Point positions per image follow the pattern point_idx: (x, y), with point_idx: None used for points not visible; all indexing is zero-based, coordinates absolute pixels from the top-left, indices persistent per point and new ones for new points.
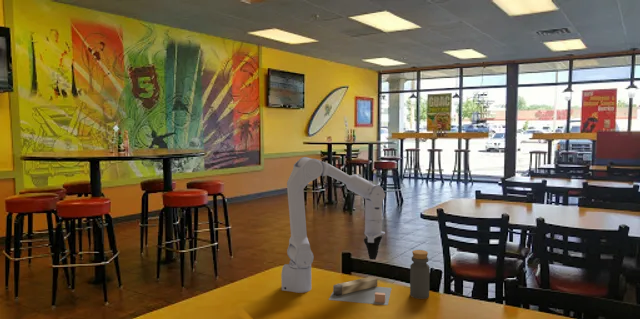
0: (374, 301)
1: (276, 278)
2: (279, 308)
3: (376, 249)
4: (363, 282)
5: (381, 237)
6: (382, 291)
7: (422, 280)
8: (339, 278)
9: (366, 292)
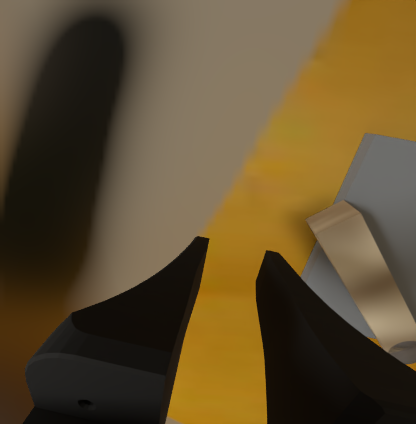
0: None
1: (216, 410)
2: None
3: (333, 318)
4: (389, 272)
5: (168, 369)
6: (410, 182)
7: None
8: (208, 300)
9: (400, 245)
